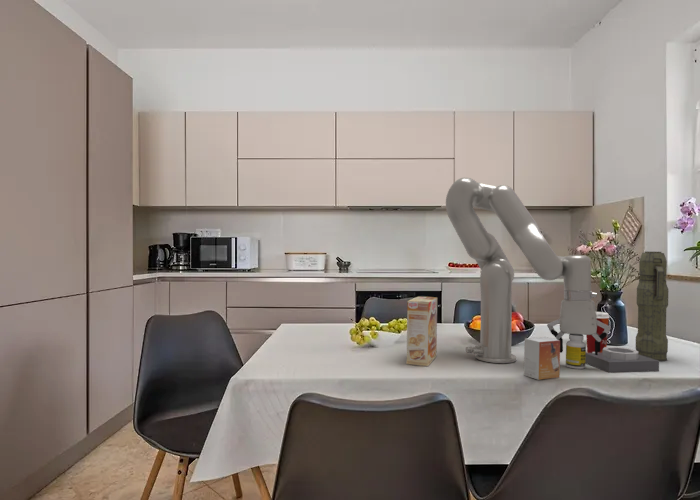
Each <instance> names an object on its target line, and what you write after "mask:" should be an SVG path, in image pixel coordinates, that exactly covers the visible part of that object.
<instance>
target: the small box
mask: <svg viewBox="0 0 700 500" xmlns="http://www.w3.org/2000/svg"><path fill="white" fill-rule="evenodd" d="M523 349H524V351H523V352H524V354H523V355H524V356H523V357H524V358H523V360H524V361H523V362H524V363H523V364H524V365H523V375H524V376H525V377H529V378H532V379H535V380H538V381H539V380H548V379H558V378H560V369H561V367H560V365H561V362H560V360H561V353H560V340H557V339H556V338H552V337H549V336H548V337H547V336H542V337H532V338H530V337H529V338H524V348H523Z"/></svg>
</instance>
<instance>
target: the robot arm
mask: <svg viewBox="0 0 700 500" xmlns="http://www.w3.org/2000/svg"><path fill="white" fill-rule="evenodd" d="M475 208H478V209H481V210H485V211H489V212H490V211H491V212H494V213H495V214H496V216H497V217H498V219H499V220H500V222H501V223H502V225H503V226H504V228H505V230H507V231H506V232H507V233H508V234H509V235H510V237H511V238H512V240H513V242H514V243H515V244H516V245H517V246H518V247H519V249H520V251H521V252H522V253H523V255H524V256H525V258H526V259H527V261H528V262H529V264H530V265H531V267H532V268H533V270H534V271H535V273H536V274H537V276H539V277H540V278H541V279H542V280H545V281H554V280H557V279H561V278H562V279H563V299H562V300H561V302H560V310H559V318H557V319H556V320H552V321H550V322H548V323H547V325H546V326H547V328H548V330H549V332H550V334H552V336H554V338H555V339H557V340H560V354H562V353H563V352H564V351H563V350H564V346H563V345H564V344H563V343H564V342H563V341H564V339H563V336H564V335H565V334H567V335H569V334H581V335H583V336H584V335H592V336H593V337H594V338H595V339H596V341H595V355H598V352H600V341H601V340H602V339H604V338H605V337H606V336H607V337H608V335H609V333H610V330H611V326H610V325H609V324H608V325H606V324H604V323H602V322H600V321H598V320H597V317H596V312H597V308H596V302H595V301H594V300H592V299H594V298H597V296H598V295H597V294H598V293H597V292H594V291H592V266H591V265H592V264H591V263H592V262H591V261H592V260H591V259H590V257H589V256H587V255H580V254H579V255H577V254H576V255H566V256H563V255H562V256H561V255H557V253H555V251H554V250H553V248H552V247H551V245H550V244H549V243H548V241H547V239H546V238H545V237H544V235H543V233H542V231H541V229H540V227H539V224H538V223H537V221H536V220H535V219H534V218H533V216H532V214H531V213H530V211H529V210H528V209H527V208H526V206H525V204H524V203H523V201H522V200H521V199H520V198H519V196H518V194H517V193H516V192H515V190H514V189H513V188H512V187H510V186H508V185H506V184H505V185H504V184H503V185H497V186H496V185H491V184H486V183H481V182H477V181H476V180H475V179H473V178H471V177H461V178H458V179H457V180H455V181H454V182H453V183H452V184H451V186H450V188H448V191H447V194H446V198H445V209H446V213H447V216H448V218H449V221H450V222H451V224H452V227H453V228H454V230H455V232H456V233H457V236H458V238H459V239H460V241H461V244H462V245H463V247H464V249H465V251H466V253H467V255H468V256H469V257H470V258H472V259H473V260H475V262H476V263H477V265H478V267H479V269H480V275H479V284H480V286H479V287H480V290H479V291H480V337H479V338H480V340H479V341H480V342H479V343H476V344H477V345H475V346H465V353H466V354H475V356H474V357H475V359H477V360H479V361H482V362H487V363H494V364H511V363H514V362H516V361H517V356H516V355H515V354H513V353H512V328H513V327H512V322H513V321H512V319H513V318H512V317H513V315H512V311H513V310H512V306H513V304H512V303H513V296H512V295H513V292H512V291H513V290H512V289H513V288H512V285H513V283H512V282H513V281H514V278H515V271H514V268H513V265H512V263H511V262H510V260H509V259H508V257H507V255H506V253H505V252H504V251H503V249H502V247H501V245H500V244H499V242H498V240H497V239H496V238H495V236H494V235H493V234H491V233H489V232H488V231H487V230H486V227H485V226H484V225H483V223H482V221H481V219H480V218H479V215H478V214H477V213H476V211H475ZM557 325H559V331H558V332H557V331H556V330H555V328H554V326H557ZM597 325H598V326H600V327H602V328H604V331H603V333H602V334H600V335H598V334H597V333H596V332H597ZM607 334H608V335H607Z"/></svg>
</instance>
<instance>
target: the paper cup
mask: <svg viewBox="0 0 700 500" xmlns="http://www.w3.org/2000/svg"><path fill="white" fill-rule="evenodd" d="M596 317H597V320H598V321H600V322H602V323H604V324H606V325H608V326H609V322H610V321H609V320H610V315H609V313H608V312H604V311H596ZM603 331H604V328H602V327H600V326H598V325H597V332H596V333H597V334H598V335H600V334H602V333H603ZM608 335H609V333H608V334H607V336H606V337H605V338H604V339H602V340H601V341H600V352H598V353H602V349H603V348H604V347H608V346H607V345H608ZM595 341H596V339H595V338H594V337H593V336H592V335H586V353H592V352H595Z"/></svg>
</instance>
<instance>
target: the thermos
mask: <svg viewBox="0 0 700 500" xmlns="http://www.w3.org/2000/svg"><path fill="white" fill-rule="evenodd" d="M638 262H639V265H638V268H639V270H638V274H639V279H638V284H637V287H636V305H637V333H636V336H635V350H636V351H639V355H642V356H645V357H648V358H651V359H655V360H658V361H659V363H660V362H667V361H668V358H667V356H668V351H669V344H668V343H669V340H668V337H667V308H668V306H669V288H668V284H667V279H666V278H667V273H668V272H667V268H668V267H667V266H668V264H667V263H668V261H667V258H666V254H665V253H664V252H662V251H644V252H641V255H640V258H639V261H638Z"/></svg>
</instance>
